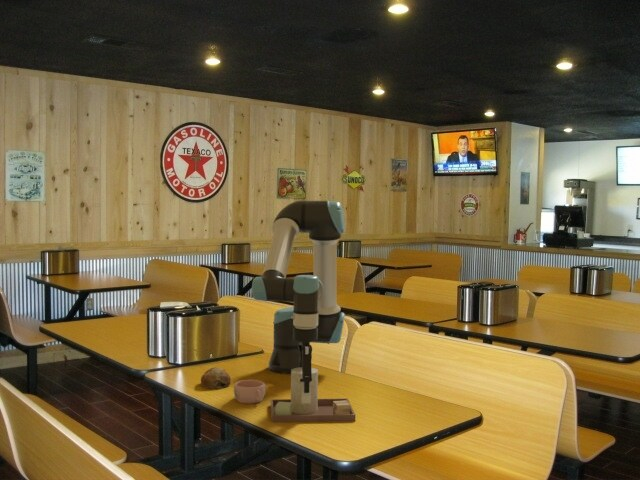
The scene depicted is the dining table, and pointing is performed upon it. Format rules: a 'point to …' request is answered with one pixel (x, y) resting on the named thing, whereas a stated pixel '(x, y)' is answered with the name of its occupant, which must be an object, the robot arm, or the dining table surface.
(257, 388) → the mug
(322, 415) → the tray
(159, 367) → the dining table surface
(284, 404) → the sage block
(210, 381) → the bread roll
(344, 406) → the maple block
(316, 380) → the cup
